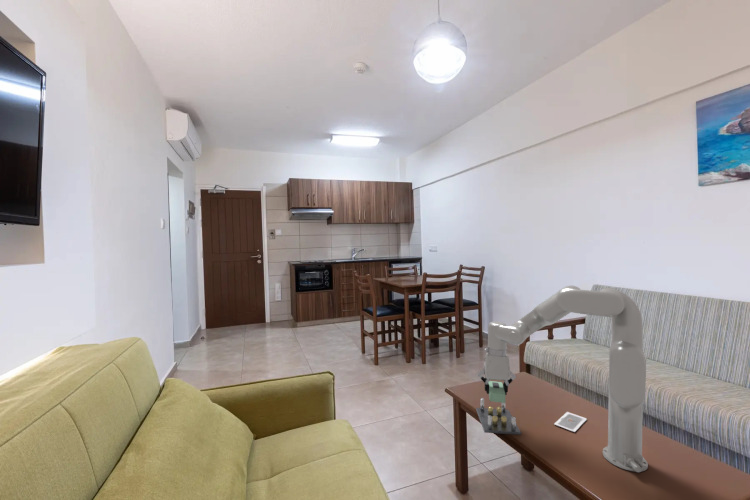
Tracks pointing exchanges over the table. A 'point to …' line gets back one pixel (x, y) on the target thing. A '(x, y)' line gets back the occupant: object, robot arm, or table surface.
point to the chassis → (497, 420)
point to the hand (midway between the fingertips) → (496, 392)
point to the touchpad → (570, 421)
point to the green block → (496, 392)
